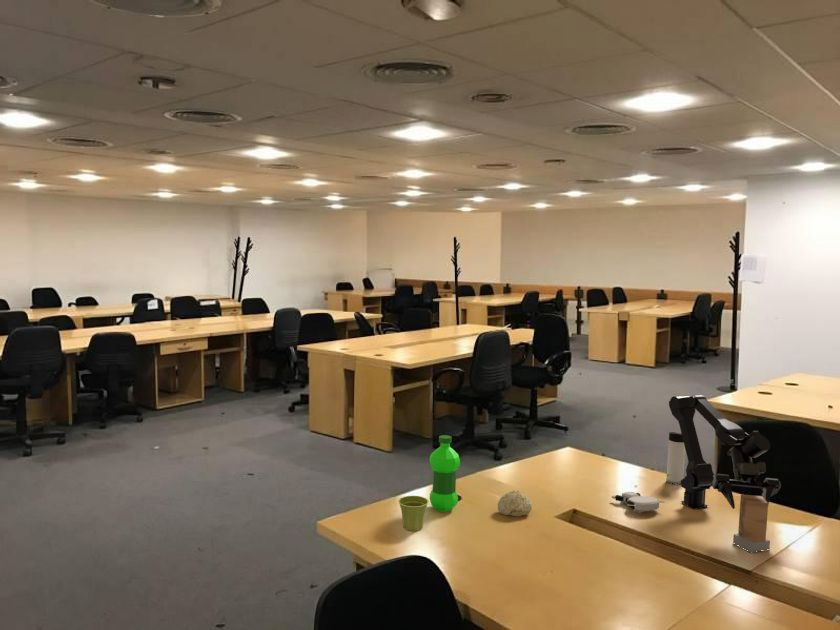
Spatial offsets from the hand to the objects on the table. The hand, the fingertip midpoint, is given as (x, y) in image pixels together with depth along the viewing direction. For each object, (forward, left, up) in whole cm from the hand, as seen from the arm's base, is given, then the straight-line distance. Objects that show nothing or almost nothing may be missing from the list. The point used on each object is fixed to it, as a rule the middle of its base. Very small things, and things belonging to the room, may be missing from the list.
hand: (749, 509), depth 204 cm
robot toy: (+14, -35, -11) cm, 39 cm away
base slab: (+1, +2, -11) cm, 11 cm away
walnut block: (+1, +2, -8) cm, 8 cm away
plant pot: (+95, -40, -11) cm, 104 cm away
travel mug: (-17, -53, -11) cm, 56 cm away
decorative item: (+58, -42, -11) cm, 72 cm away
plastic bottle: (+80, -52, -11) cm, 96 cm away
